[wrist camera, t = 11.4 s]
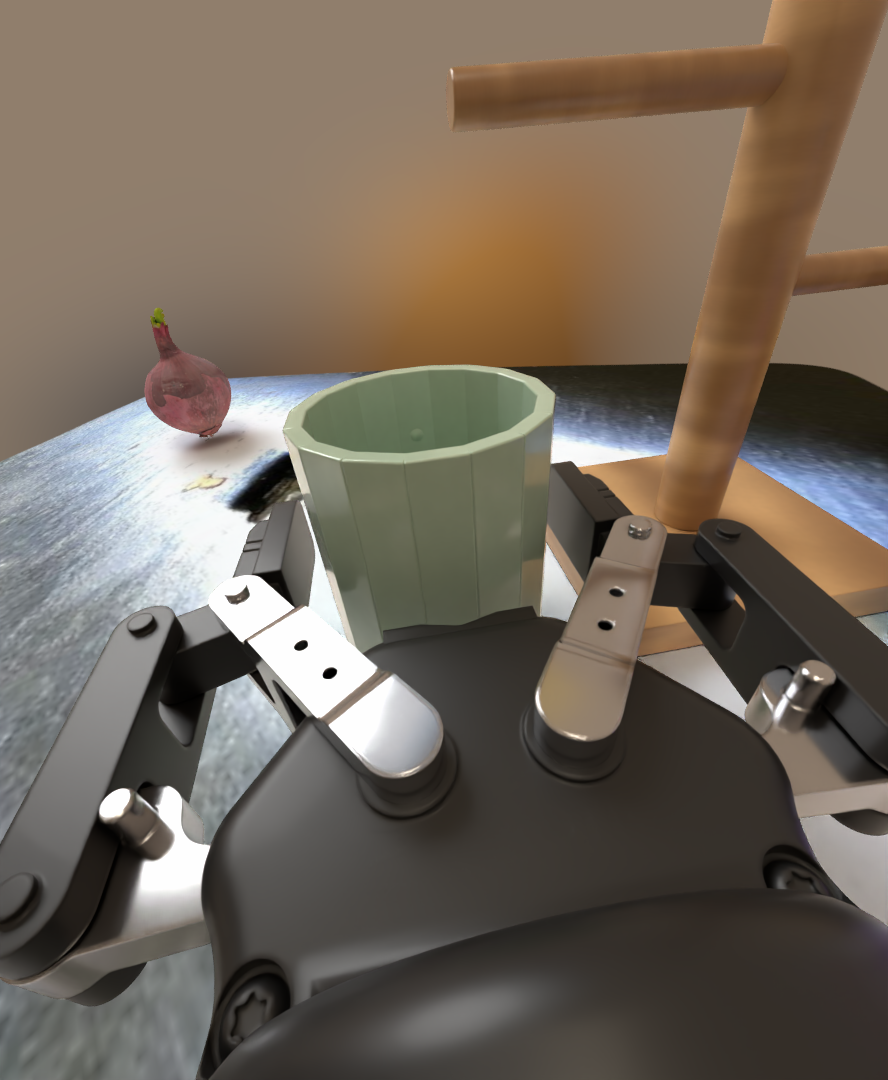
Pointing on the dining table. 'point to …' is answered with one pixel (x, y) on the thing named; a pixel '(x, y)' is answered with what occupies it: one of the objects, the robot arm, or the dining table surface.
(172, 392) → the vegetable
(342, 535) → the mug
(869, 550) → the mug tree
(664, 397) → the dining table surface
